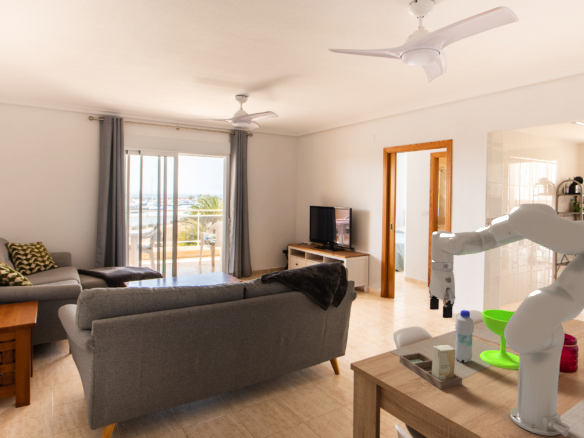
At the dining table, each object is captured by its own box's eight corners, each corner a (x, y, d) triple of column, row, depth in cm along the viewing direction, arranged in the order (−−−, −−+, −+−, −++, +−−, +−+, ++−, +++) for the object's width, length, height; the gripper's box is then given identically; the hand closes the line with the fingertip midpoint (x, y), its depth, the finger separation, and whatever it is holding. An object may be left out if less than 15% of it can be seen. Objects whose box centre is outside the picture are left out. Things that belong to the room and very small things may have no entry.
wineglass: (518, 354, 155) (520, 311, 154) (532, 371, 140) (535, 324, 139) (475, 349, 159) (477, 307, 158) (485, 366, 144) (487, 320, 142)
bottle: (468, 357, 152) (470, 308, 151) (475, 364, 145) (477, 313, 144) (451, 356, 152) (453, 307, 151) (457, 363, 146) (459, 312, 145)
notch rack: (462, 384, 129) (462, 377, 129) (440, 389, 126) (440, 382, 126) (419, 358, 150) (419, 352, 150) (399, 361, 147) (399, 355, 147)
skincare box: (438, 385, 129) (439, 350, 128) (430, 379, 133) (432, 345, 132) (454, 383, 130) (456, 348, 130) (446, 377, 135) (447, 344, 134)
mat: (429, 366, 143) (429, 365, 143) (413, 369, 141) (413, 368, 141) (418, 359, 149) (418, 358, 149) (403, 362, 146) (403, 361, 146)
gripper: (465, 270, 126) (463, 321, 127) (440, 261, 143) (439, 306, 144) (443, 270, 125) (442, 321, 126) (421, 262, 142) (420, 306, 143)
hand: (440, 313), depth 135 cm, fingers open, 9 cm apart
